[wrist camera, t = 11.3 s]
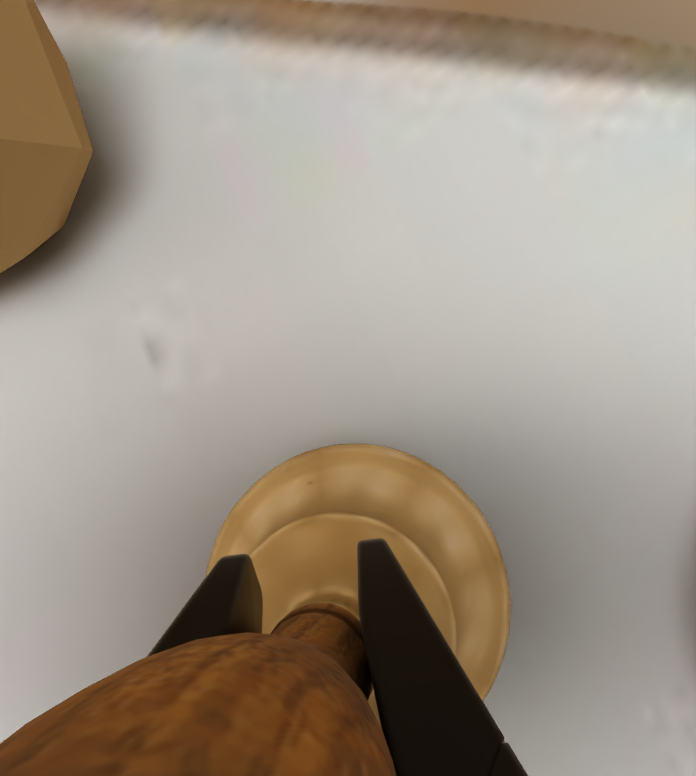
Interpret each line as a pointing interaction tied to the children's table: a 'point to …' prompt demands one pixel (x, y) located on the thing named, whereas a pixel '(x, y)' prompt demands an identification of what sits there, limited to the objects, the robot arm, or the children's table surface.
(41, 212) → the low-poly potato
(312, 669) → the hand bell
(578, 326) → the children's table surface
